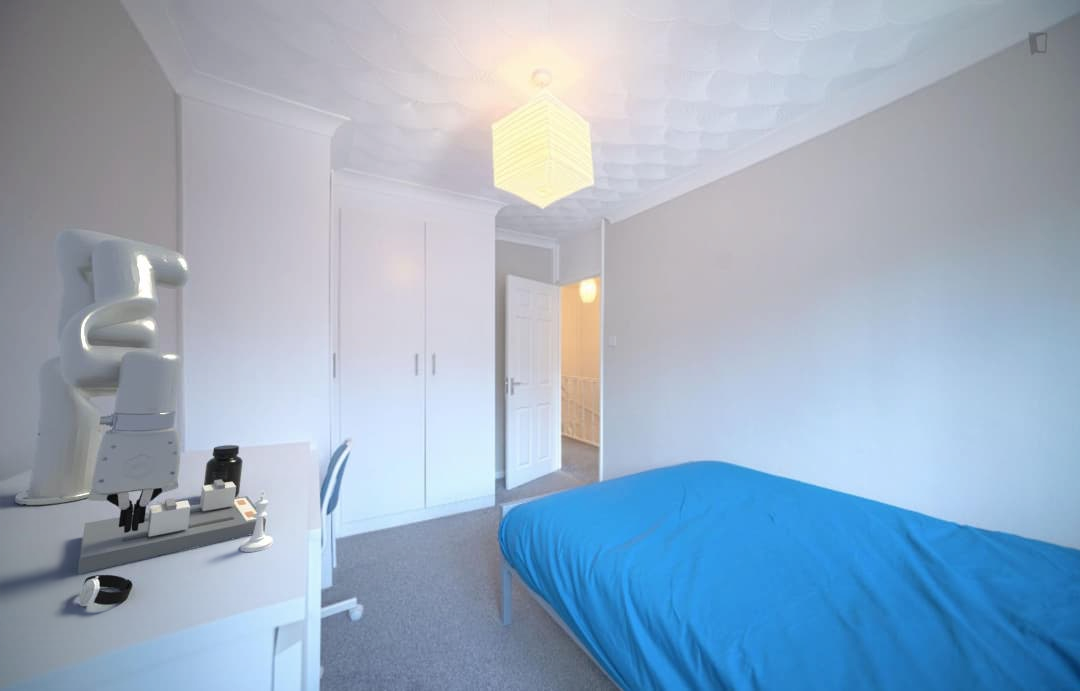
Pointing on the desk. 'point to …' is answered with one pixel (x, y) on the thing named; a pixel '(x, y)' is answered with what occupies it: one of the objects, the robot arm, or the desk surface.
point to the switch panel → (163, 535)
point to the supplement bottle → (224, 466)
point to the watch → (95, 595)
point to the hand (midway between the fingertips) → (130, 528)
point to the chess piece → (258, 530)
